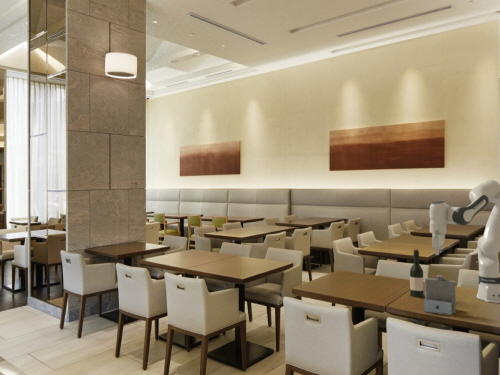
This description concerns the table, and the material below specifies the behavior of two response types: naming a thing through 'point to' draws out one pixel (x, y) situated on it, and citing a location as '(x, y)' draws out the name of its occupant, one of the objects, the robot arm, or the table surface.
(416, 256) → the wine bottle
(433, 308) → the vise
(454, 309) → the grey rectangular slab
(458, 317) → the table surface
